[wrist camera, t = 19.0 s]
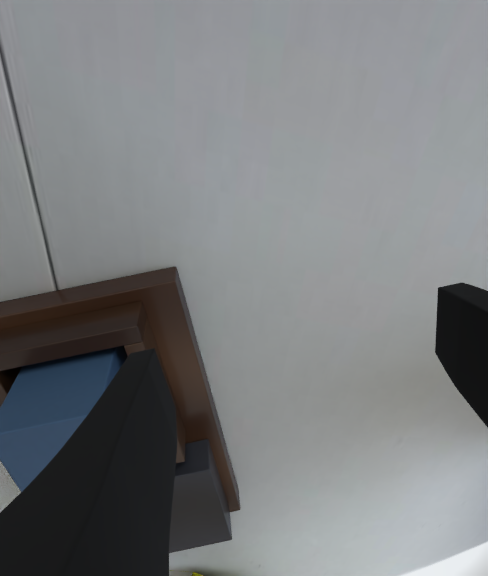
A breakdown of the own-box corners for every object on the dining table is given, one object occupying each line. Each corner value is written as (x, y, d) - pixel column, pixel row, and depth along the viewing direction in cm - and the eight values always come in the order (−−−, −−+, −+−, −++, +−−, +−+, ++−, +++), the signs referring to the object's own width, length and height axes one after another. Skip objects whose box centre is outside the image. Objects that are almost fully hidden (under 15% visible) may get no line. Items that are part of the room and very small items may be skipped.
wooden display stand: (238, 488, 27) (244, 543, 24) (83, 521, 27) (69, 580, 24) (176, 265, 20) (173, 304, 17) (-42, 310, 20) (-84, 357, 17)
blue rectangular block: (155, 426, 22) (146, 517, 18) (78, 442, 22) (50, 538, 18) (119, 331, 19) (98, 413, 15) (30, 349, 19) (-17, 436, 15)
